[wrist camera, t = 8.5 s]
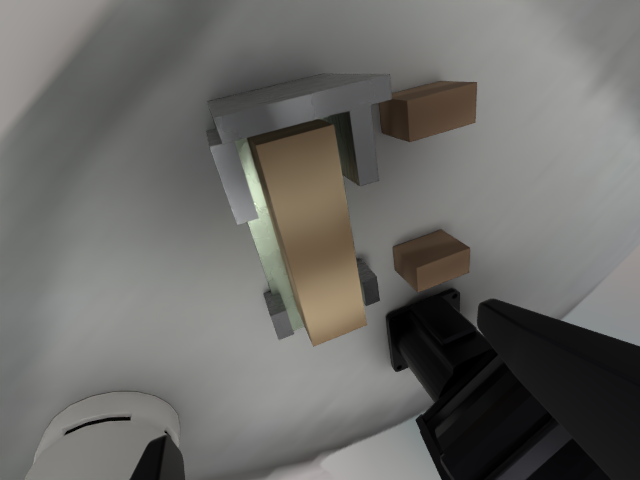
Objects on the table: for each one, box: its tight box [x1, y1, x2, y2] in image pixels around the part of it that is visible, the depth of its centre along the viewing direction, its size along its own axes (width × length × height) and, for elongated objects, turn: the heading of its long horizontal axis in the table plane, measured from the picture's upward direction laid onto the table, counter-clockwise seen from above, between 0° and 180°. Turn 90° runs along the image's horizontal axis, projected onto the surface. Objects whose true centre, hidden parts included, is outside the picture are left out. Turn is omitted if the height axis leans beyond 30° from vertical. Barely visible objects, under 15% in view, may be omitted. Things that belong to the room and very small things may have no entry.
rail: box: [247, 119, 367, 347], centre depth 19 cm, size 12×4×4 cm, turn 11°
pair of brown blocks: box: [379, 81, 477, 292], centre depth 21 cm, size 12×4×3 cm, turn 11°
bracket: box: [206, 74, 392, 340], centre depth 17 cm, size 15×7×7 cm, turn 11°
